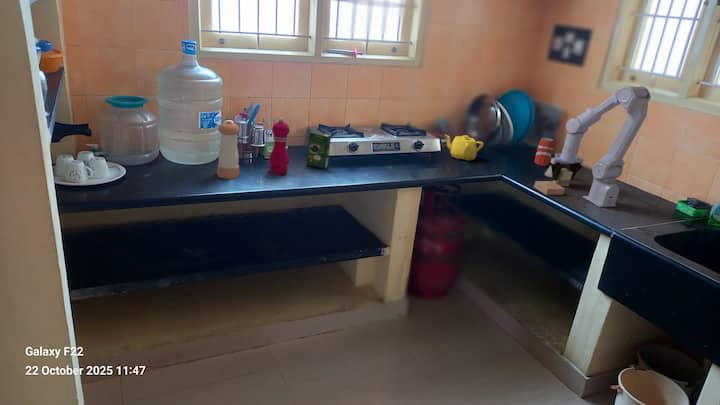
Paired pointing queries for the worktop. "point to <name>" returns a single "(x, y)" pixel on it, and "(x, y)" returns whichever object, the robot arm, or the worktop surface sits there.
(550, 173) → the flask
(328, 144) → the coffee box
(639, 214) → the worktop surface
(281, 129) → the pepper mill
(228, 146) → the salt shaker
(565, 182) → the block
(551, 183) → the base
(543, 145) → the beverage can
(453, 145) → the teapot
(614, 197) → the robot arm
